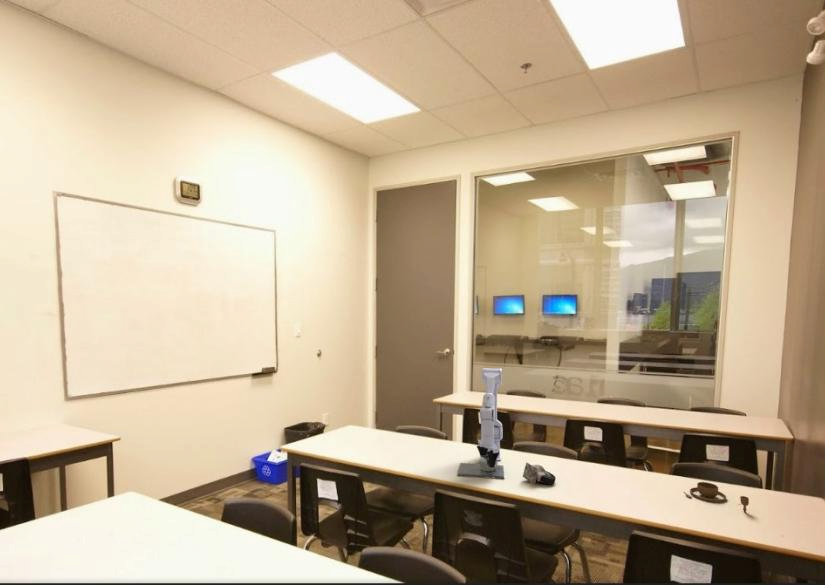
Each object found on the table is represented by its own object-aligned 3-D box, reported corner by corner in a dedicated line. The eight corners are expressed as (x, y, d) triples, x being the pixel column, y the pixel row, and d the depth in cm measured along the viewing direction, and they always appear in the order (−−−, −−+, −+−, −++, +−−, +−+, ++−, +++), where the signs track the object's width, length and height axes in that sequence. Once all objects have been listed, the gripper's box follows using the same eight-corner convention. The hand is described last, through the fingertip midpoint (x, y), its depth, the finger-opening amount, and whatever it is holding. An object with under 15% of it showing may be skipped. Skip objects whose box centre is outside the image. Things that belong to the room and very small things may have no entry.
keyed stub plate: (460, 464, 210) (460, 455, 210) (503, 467, 206) (503, 457, 207) (457, 475, 196) (457, 465, 196) (504, 478, 193) (503, 468, 193)
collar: (480, 466, 204) (480, 455, 204) (490, 465, 205) (490, 454, 206) (486, 470, 198) (486, 459, 198) (497, 469, 200) (497, 458, 200)
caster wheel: (556, 488, 188) (542, 490, 182) (535, 475, 197) (521, 476, 192) (561, 473, 188) (546, 475, 182) (539, 460, 197) (525, 462, 191)
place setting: (726, 493, 178) (725, 478, 179) (753, 516, 159) (752, 499, 159) (678, 489, 182) (677, 475, 182) (698, 511, 162) (698, 495, 163)
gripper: (472, 430, 208) (472, 460, 207) (487, 439, 194) (488, 470, 194) (485, 429, 210) (486, 458, 210) (501, 437, 197) (502, 468, 196)
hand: (487, 464), depth 202 cm, fingers open, 7 cm apart
